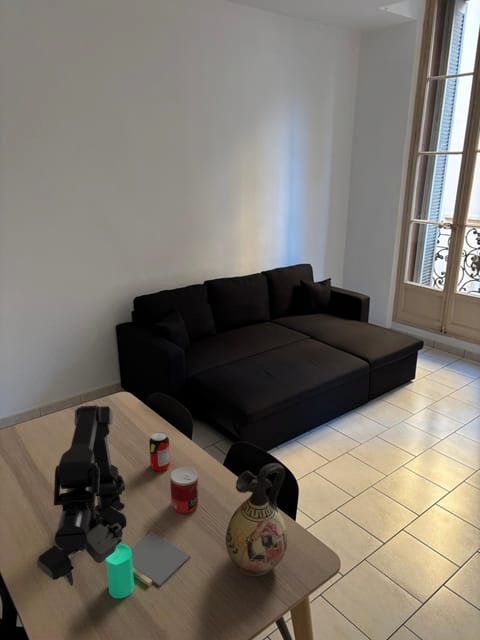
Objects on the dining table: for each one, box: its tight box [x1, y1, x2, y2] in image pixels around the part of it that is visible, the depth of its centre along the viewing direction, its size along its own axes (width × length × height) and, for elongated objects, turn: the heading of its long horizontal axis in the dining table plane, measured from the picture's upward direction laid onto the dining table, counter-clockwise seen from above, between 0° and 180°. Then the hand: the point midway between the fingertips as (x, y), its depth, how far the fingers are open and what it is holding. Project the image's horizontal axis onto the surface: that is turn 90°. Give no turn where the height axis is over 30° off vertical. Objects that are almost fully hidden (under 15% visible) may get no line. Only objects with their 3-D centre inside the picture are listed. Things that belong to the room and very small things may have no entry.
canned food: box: [169, 466, 199, 515], centre depth 140 cm, size 8×8×11 cm
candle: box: [105, 542, 135, 599], centre depth 113 cm, size 6×6×12 cm
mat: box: [130, 531, 191, 588], centre depth 124 cm, size 14×11×1 cm
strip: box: [133, 567, 153, 588], centre depth 119 cm, size 10×1×1 cm, turn 54°
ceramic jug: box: [225, 462, 288, 577], centre depth 118 cm, size 17×15×30 cm
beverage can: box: [149, 431, 171, 472], centre depth 157 cm, size 6×6×12 cm
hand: (87, 570), depth 104 cm, fingers open, 8 cm apart
